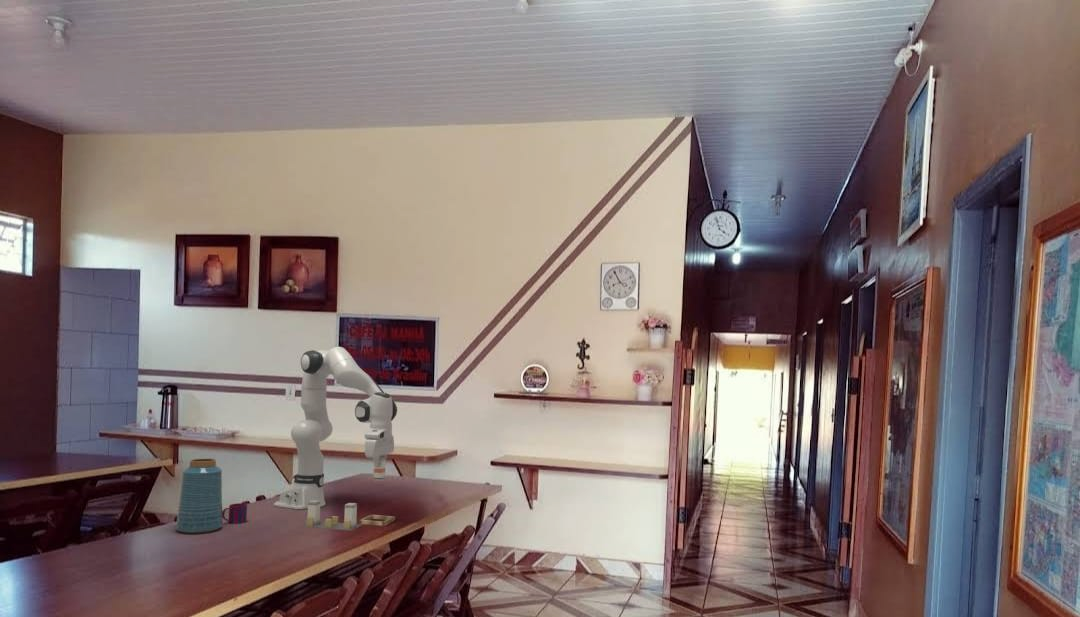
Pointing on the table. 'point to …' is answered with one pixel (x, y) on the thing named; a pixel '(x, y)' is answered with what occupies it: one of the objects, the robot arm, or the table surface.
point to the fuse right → (351, 514)
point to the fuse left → (314, 511)
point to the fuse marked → (380, 470)
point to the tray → (387, 520)
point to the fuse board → (331, 524)
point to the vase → (200, 497)
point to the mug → (236, 513)
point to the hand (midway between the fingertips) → (379, 466)
